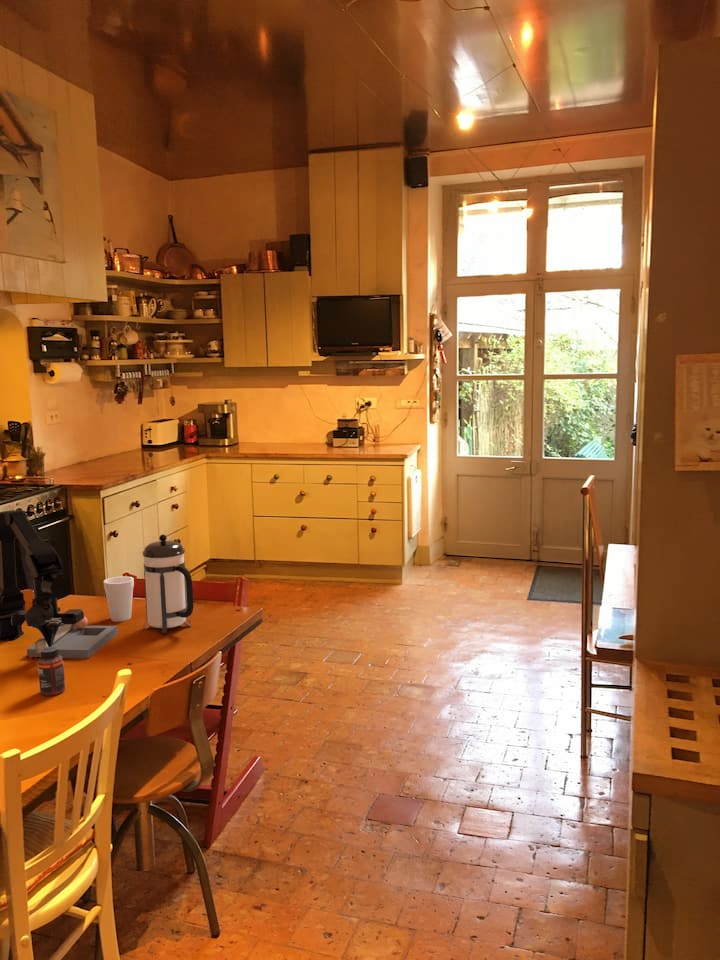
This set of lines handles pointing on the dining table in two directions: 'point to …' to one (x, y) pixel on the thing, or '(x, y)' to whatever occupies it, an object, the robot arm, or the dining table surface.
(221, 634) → the dining table surface
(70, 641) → the board
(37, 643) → the lever
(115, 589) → the foam cup
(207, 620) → the dining table surface
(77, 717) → the dining table surface
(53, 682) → the supplement bottle
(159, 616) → the coffee press
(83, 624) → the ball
